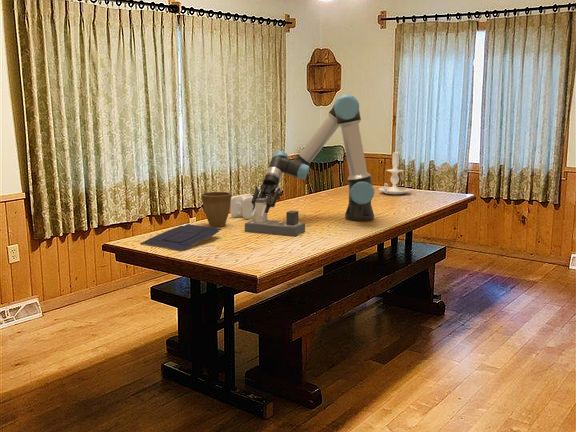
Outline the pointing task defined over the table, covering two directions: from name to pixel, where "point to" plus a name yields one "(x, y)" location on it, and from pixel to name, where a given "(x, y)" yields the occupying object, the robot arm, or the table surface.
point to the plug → (260, 210)
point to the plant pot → (216, 207)
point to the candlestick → (394, 179)
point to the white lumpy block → (242, 206)
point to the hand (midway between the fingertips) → (257, 217)
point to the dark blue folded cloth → (181, 237)
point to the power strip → (278, 226)
